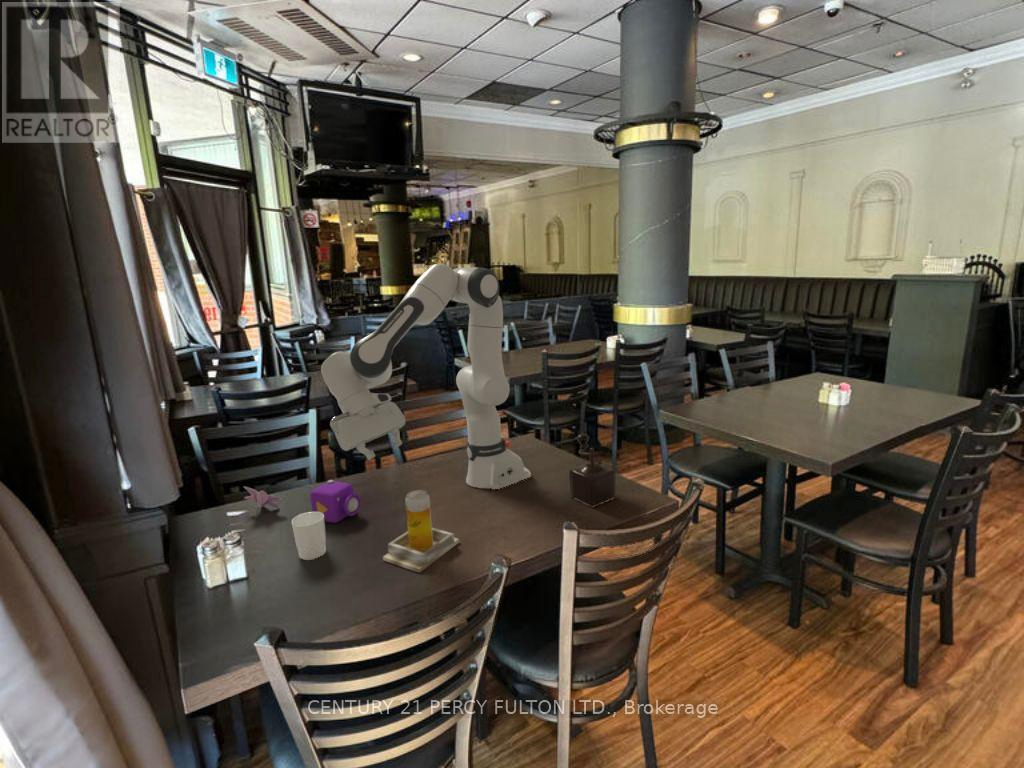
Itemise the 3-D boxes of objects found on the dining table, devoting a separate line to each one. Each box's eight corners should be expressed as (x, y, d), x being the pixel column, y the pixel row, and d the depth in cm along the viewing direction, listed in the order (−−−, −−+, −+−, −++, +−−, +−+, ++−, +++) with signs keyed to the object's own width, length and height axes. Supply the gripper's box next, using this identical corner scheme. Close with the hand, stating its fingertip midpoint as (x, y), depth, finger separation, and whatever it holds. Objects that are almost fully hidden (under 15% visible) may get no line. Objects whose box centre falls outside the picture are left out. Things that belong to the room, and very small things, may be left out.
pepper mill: (618, 498, 162) (618, 443, 158) (592, 508, 156) (591, 451, 152) (584, 482, 174) (583, 431, 170) (558, 491, 168) (557, 438, 164)
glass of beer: (407, 545, 137) (402, 492, 134) (429, 539, 140) (425, 487, 136) (412, 556, 132) (407, 501, 129) (436, 550, 134) (431, 496, 131)
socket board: (383, 560, 133) (381, 547, 132) (424, 532, 146) (423, 520, 145) (419, 572, 127) (418, 559, 126) (459, 542, 140) (458, 530, 139)
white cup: (304, 545, 141) (299, 511, 139) (332, 545, 141) (328, 511, 139) (291, 562, 134) (286, 526, 131) (321, 561, 133) (316, 525, 131)
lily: (288, 518, 160) (291, 486, 162) (249, 518, 151) (252, 484, 154) (269, 520, 167) (272, 490, 170) (230, 520, 158) (234, 488, 161)
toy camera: (351, 526, 151) (347, 494, 149) (308, 523, 154) (304, 492, 151) (368, 509, 161) (365, 479, 159) (328, 507, 164) (324, 477, 162)
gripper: (332, 413, 130) (359, 461, 129) (393, 392, 146) (419, 434, 145) (322, 425, 134) (348, 471, 132) (383, 403, 150) (407, 443, 148)
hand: (386, 451), depth 139 cm, fingers open, 8 cm apart
